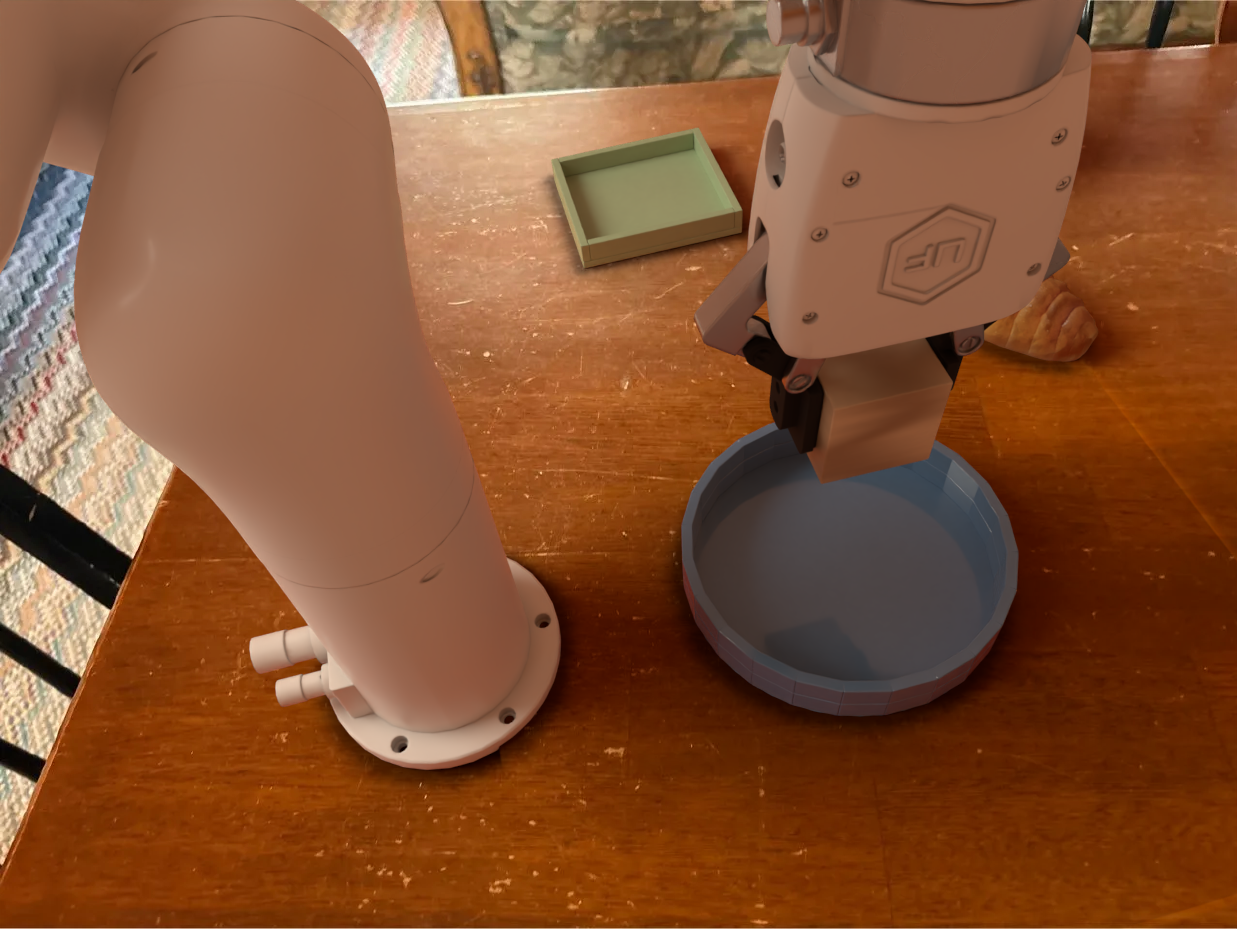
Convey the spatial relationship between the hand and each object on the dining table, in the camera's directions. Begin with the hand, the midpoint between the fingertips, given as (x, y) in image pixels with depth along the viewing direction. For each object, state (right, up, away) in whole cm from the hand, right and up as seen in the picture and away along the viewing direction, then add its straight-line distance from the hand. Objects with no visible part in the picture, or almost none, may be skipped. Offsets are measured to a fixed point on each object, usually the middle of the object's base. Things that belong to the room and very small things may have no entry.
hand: (857, 411), depth 41 cm
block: (0, -1, +1) cm, 1 cm away
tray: (-8, +18, +32) cm, 37 cm away
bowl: (+2, -8, +11) cm, 14 cm away
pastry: (+16, +7, +21) cm, 27 cm away
